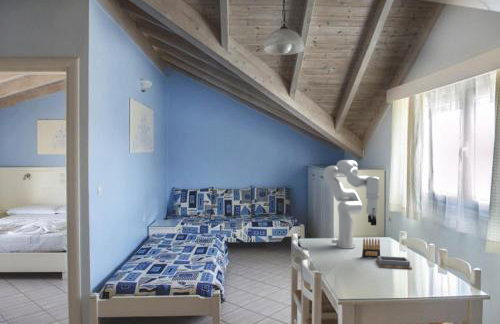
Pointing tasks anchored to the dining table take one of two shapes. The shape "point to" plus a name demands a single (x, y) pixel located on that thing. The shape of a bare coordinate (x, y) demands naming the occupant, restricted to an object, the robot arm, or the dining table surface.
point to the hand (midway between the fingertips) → (372, 223)
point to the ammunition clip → (371, 249)
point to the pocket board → (393, 262)
